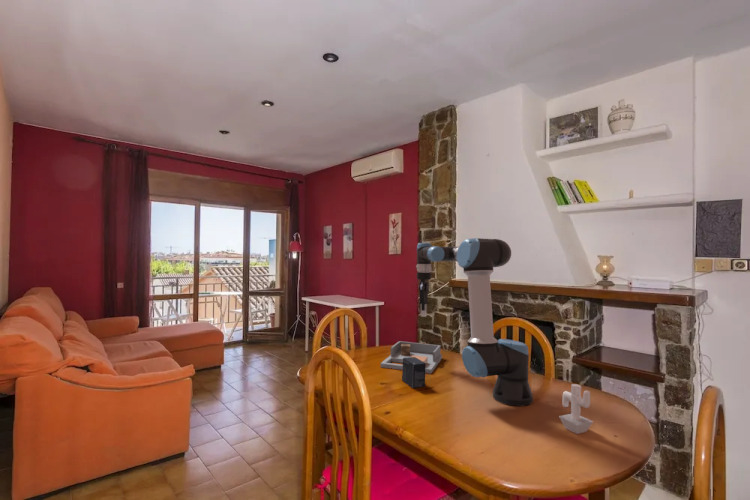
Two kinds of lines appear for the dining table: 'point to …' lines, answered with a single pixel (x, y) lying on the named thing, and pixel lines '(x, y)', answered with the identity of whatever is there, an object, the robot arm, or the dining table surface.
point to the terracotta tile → (422, 358)
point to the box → (413, 372)
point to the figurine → (576, 410)
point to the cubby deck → (415, 350)
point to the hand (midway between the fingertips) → (423, 316)
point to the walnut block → (405, 349)
